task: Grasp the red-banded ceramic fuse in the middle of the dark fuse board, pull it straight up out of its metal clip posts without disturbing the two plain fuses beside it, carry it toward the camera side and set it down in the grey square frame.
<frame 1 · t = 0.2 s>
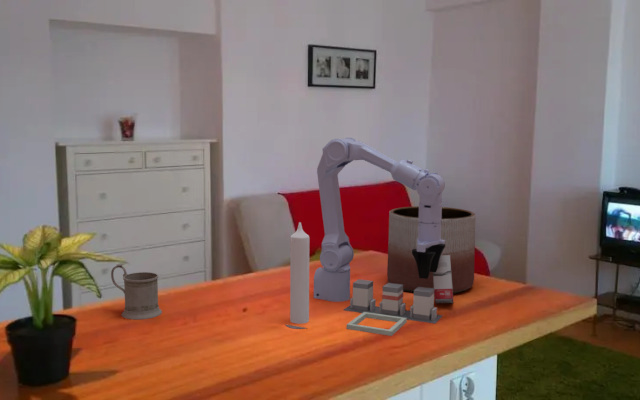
hand: (428, 274, 167), 10 cm above the kitchen counter, fingers open, 7 cm apart
planter: (429, 286, 196), on the kitchen counter
mug: (134, 313, 168), on the kitchen counter
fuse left: (362, 308, 169), point 1 cm above the kitchen counter, touching fuse board
red banded fuse: (392, 312, 166), point 1 cm above the kitchen counter, touching fuse board
grey square frame: (377, 329, 156), on the kitchen counter
fuse board: (392, 316, 166), on the kitchen counter
candle: (299, 325, 159), on the kitchen counter
fuse right: (423, 317, 162), point 1 cm above the kitchen counter, touching fuse board
ink box: (444, 302, 172), point 2 cm above the kitchen counter
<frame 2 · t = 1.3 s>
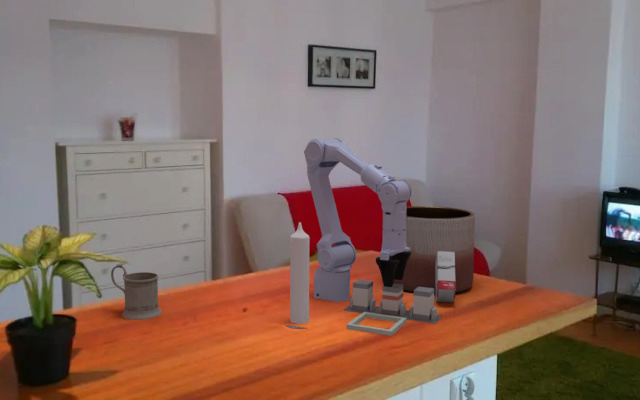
hand: (393, 283, 164), 9 cm above the kitchen counter, fingers open, 7 cm apart
ink box: (445, 298, 173), point 3 cm above the kitchen counter
everything else where it was.
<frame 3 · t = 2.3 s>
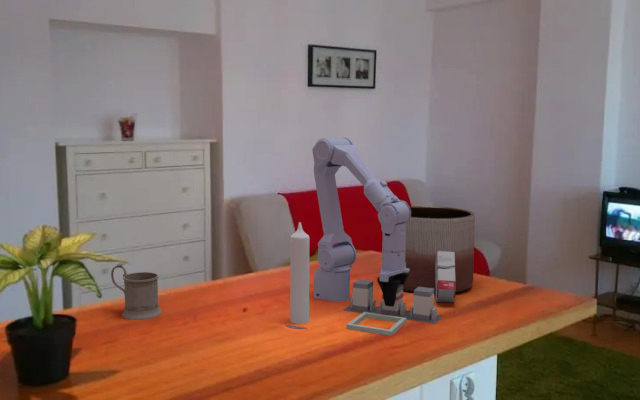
hand: (392, 303, 165), 3 cm above the kitchen counter, fingers closed on red banded fuse, 4 cm apart
red banded fuse: (392, 312, 166), point 1 cm above the kitchen counter, touching fuse board, gripper
everything else where it was.
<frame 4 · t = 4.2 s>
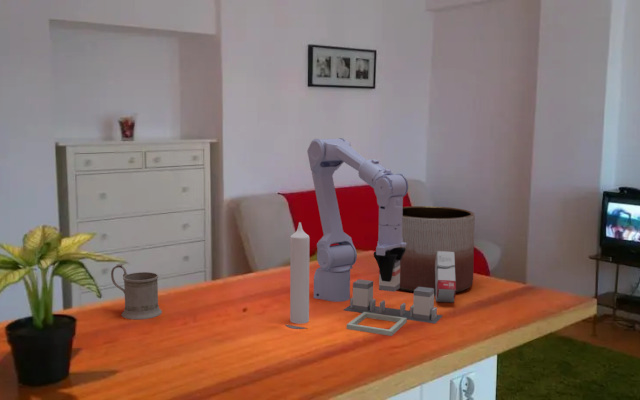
hand: (389, 278, 161), 10 cm above the kitchen counter, fingers closed on red banded fuse, 4 cm apart
red banded fuse: (389, 288, 162), point 8 cm above the kitchen counter, touching gripper
everything else where it was.
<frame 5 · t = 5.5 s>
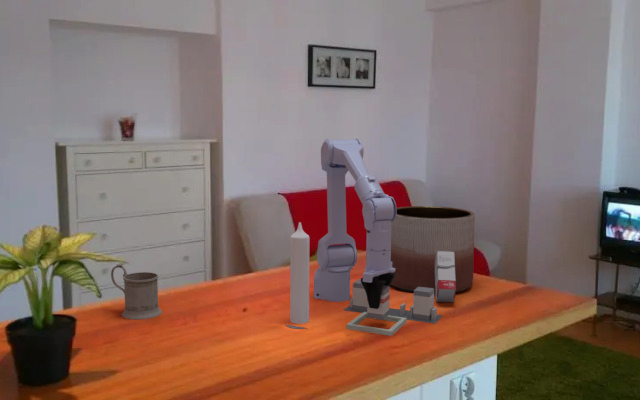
hand: (377, 305, 155), 6 cm above the kitchen counter, fingers closed on red banded fuse, 4 cm apart
red banded fuse: (378, 316, 155), point 3 cm above the kitchen counter, touching gripper
everything else where it was.
when the fingers open (4 cm above the kitchen counter, at t = 6.2 s): red banded fuse drops 1 cm, resting on grey square frame.
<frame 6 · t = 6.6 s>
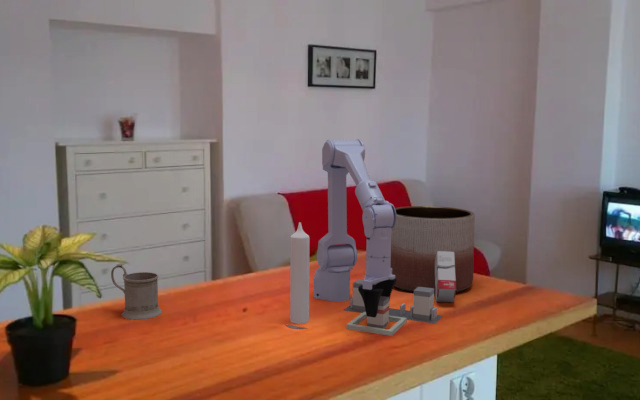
hand: (377, 312, 155), 4 cm above the kitchen counter, fingers open, 7 cm apart
red banded fuse: (377, 326, 156), point 1 cm above the kitchen counter, touching grey square frame
everything else where it was.
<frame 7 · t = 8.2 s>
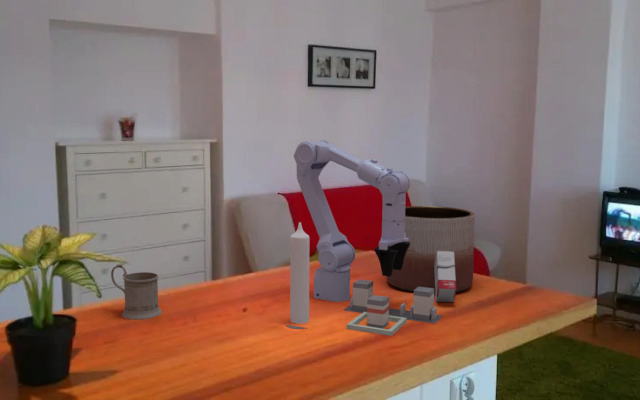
hand: (392, 272, 168), 10 cm above the kitchen counter, fingers open, 7 cm apart
nothing on the kitchen counter moved.
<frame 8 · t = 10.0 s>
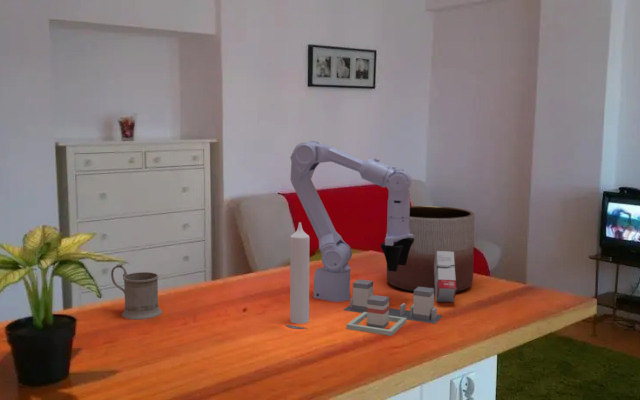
hand: (397, 267, 173), 10 cm above the kitchen counter, fingers open, 7 cm apart
planter: (428, 285, 197), on the kitchen counter, touching ink box
ink box: (446, 297, 173), point 3 cm above the kitchen counter, touching planter
everything else where it was.
at the end: red banded fuse inside the target area on the grey square frame (0.1 cm from its centre), point 0.6 cm above the grey square frame's base; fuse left moved 0.0 cm from its start; fuse right moved 0.0 cm from its start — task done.
